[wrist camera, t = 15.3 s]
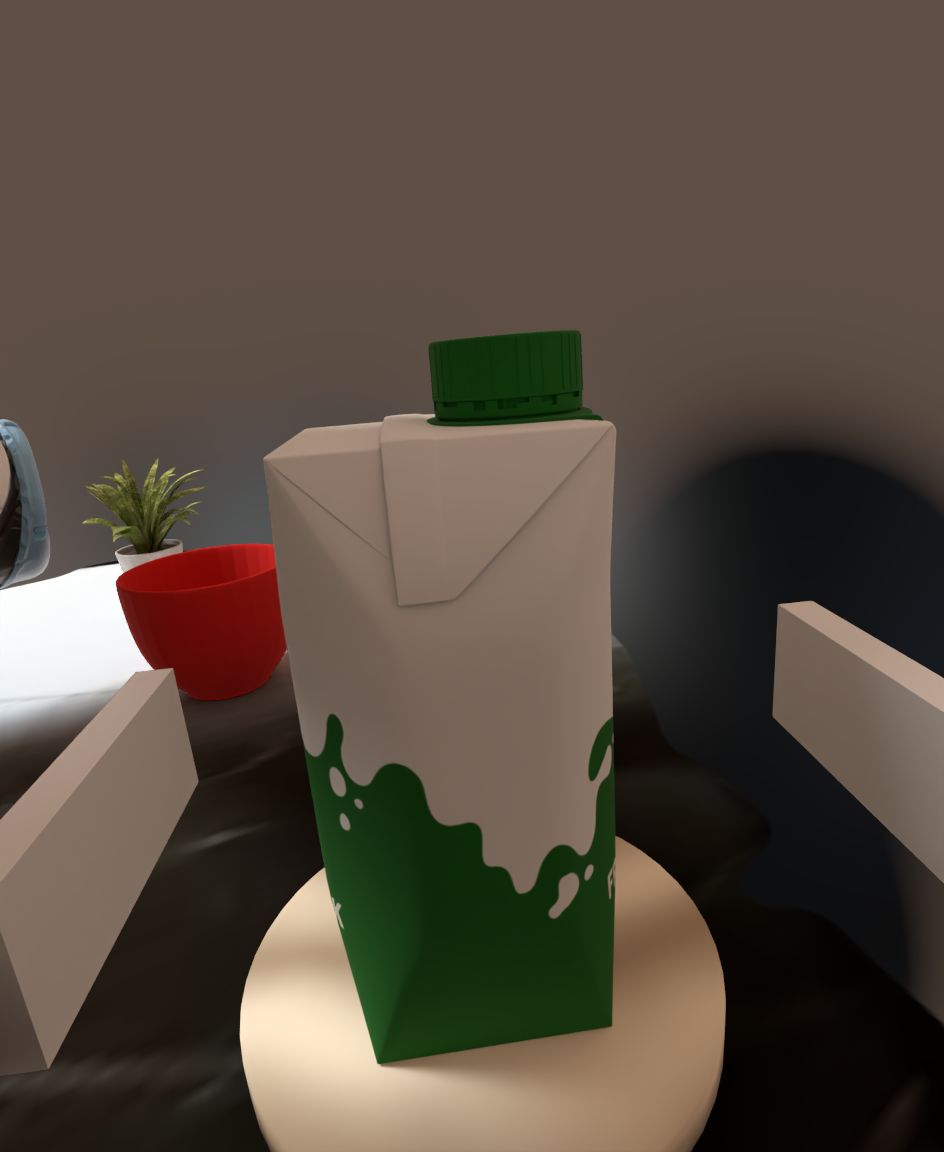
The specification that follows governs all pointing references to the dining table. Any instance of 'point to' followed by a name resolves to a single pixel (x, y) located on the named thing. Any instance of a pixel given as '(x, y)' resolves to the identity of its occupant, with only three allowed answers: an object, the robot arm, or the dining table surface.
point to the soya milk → (461, 695)
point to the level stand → (495, 1073)
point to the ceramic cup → (208, 617)
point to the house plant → (142, 516)
